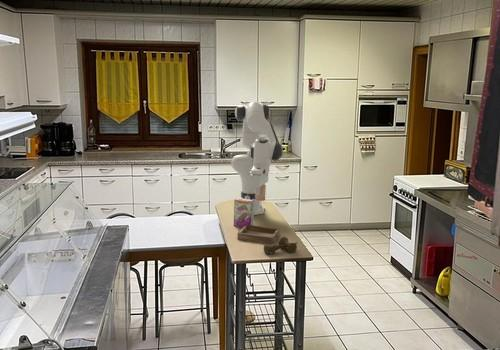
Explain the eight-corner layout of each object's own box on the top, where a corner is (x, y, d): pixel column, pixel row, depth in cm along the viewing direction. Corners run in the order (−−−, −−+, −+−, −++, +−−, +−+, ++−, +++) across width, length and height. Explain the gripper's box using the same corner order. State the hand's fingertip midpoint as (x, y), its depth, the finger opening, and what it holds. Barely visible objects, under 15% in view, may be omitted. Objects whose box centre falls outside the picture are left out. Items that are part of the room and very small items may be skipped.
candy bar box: (233, 225, 269) (233, 199, 265) (236, 223, 274) (236, 197, 270) (250, 228, 265) (251, 201, 262) (253, 225, 270) (254, 199, 267)
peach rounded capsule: (256, 197, 250) (257, 183, 249) (266, 198, 249) (266, 184, 247) (253, 200, 245) (254, 185, 243) (263, 201, 243) (264, 186, 242)
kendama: (260, 251, 231) (292, 245, 241) (270, 259, 223) (302, 251, 233) (260, 241, 230) (292, 234, 239) (270, 247, 222) (303, 240, 231)
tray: (246, 230, 262) (246, 224, 261) (279, 234, 256) (279, 228, 255) (237, 239, 247) (237, 233, 246) (272, 243, 241) (272, 237, 240)
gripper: (260, 164, 254) (260, 188, 257) (250, 171, 235) (249, 196, 238) (271, 165, 252) (270, 189, 255) (261, 172, 233) (260, 198, 236)
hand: (260, 193), depth 246 cm, fingers closed on peach rounded capsule, 6 cm apart
